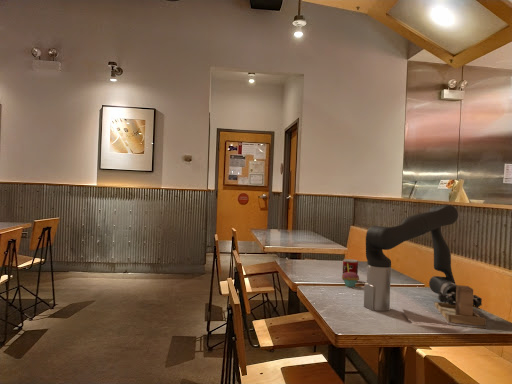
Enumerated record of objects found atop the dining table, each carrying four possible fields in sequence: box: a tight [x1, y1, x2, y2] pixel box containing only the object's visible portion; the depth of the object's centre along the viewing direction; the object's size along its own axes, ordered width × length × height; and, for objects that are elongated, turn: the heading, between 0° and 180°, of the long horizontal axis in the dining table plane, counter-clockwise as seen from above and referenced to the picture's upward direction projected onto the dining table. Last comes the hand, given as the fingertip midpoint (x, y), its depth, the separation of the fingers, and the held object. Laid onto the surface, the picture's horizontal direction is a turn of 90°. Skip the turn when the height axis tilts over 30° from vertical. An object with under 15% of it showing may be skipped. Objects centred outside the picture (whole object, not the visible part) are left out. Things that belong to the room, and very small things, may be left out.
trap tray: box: [434, 301, 487, 330], centre depth 148 cm, size 22×12×4 cm, turn 167°
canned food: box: [342, 258, 359, 281], centre depth 210 cm, size 8×8×11 cm
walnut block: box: [455, 284, 474, 316], centre depth 141 cm, size 6×4×12 cm, turn 167°
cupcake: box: [341, 263, 360, 288], centre depth 196 cm, size 9×8×12 cm
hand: (464, 303), depth 140 cm, fingers open, 8 cm apart
